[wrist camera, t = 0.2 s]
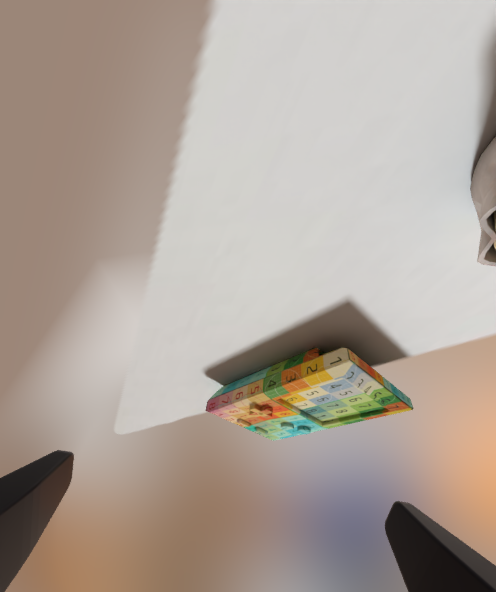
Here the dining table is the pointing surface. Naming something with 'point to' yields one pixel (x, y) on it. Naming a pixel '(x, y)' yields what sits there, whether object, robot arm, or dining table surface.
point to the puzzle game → (308, 395)
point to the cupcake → (486, 203)
